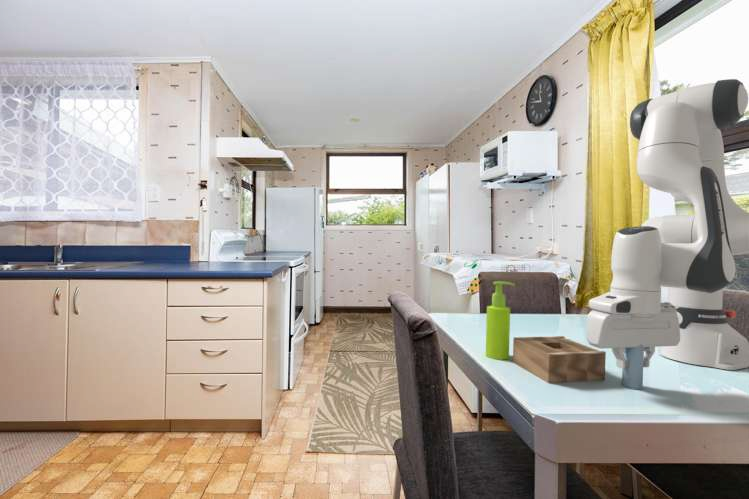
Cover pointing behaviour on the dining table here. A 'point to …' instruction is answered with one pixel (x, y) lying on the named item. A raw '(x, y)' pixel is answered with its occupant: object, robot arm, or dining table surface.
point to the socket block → (558, 359)
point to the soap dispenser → (498, 325)
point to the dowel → (633, 368)
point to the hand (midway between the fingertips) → (632, 367)
